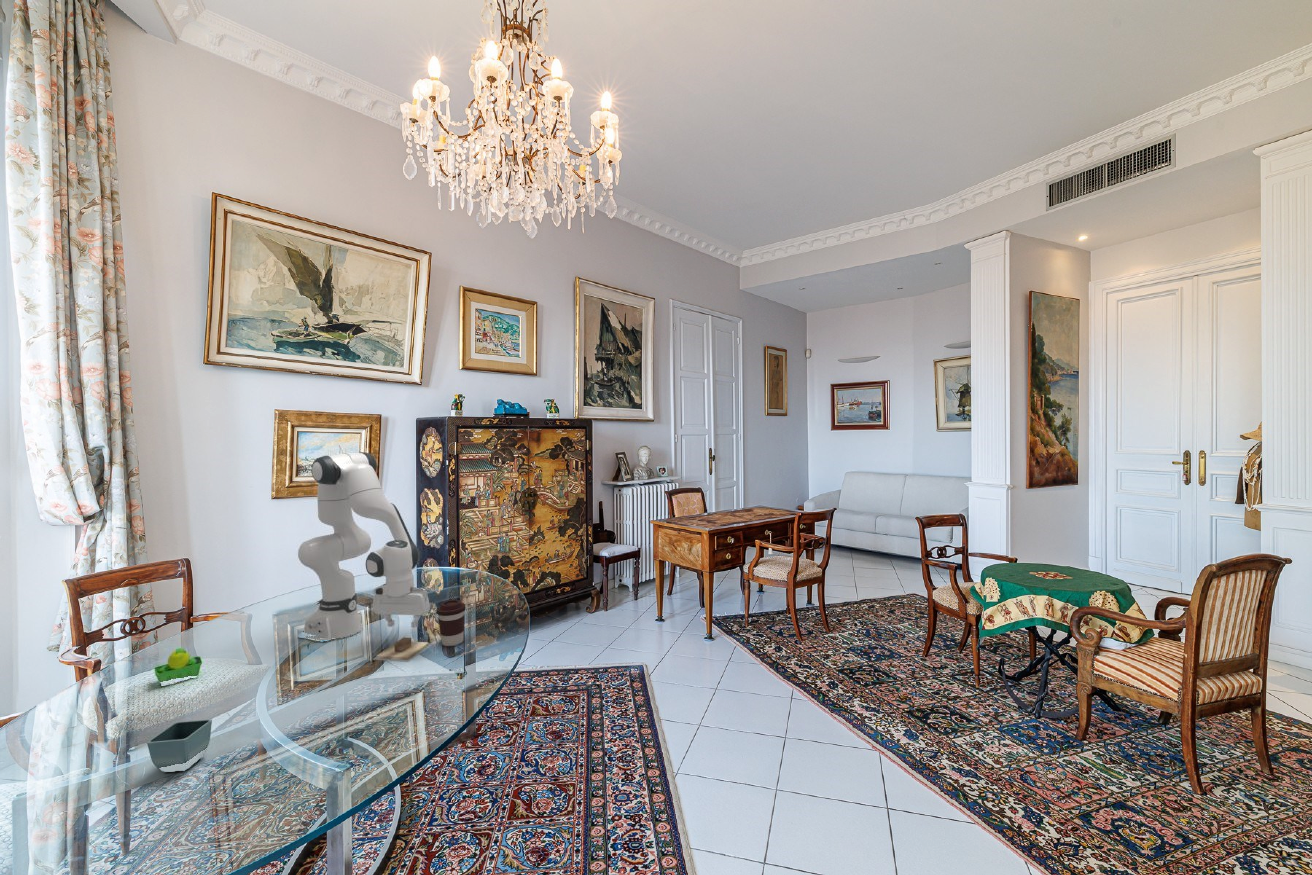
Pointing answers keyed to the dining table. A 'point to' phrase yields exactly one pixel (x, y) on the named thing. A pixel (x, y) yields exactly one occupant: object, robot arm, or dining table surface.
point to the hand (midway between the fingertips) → (403, 626)
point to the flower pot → (179, 742)
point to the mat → (404, 660)
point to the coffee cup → (451, 622)
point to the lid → (402, 649)
